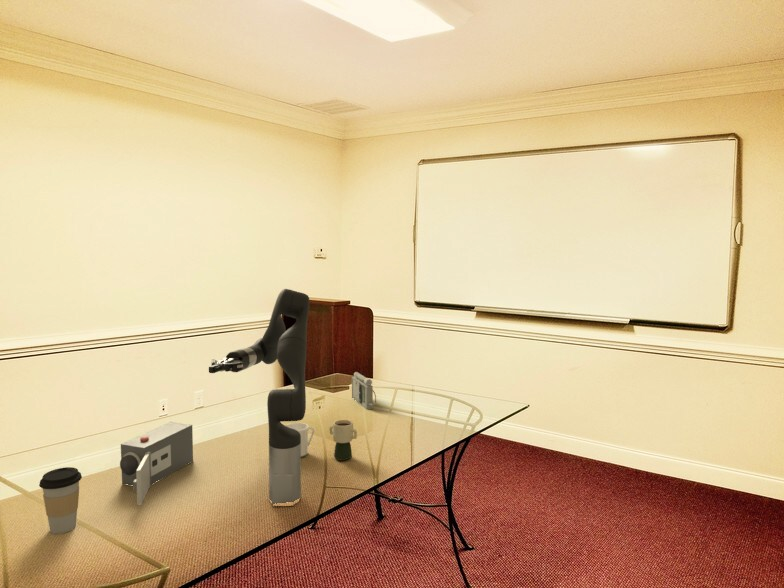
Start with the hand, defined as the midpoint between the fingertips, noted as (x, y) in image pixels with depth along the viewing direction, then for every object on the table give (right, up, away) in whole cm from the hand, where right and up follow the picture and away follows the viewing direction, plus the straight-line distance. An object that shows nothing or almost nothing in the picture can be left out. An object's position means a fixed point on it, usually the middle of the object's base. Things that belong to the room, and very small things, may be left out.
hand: (210, 370), depth 171 cm
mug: (+26, -33, +17) cm, 45 cm away
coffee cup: (-27, -37, -34) cm, 57 cm away
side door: (-14, -34, -17) cm, 41 cm away
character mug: (+42, -34, +14) cm, 56 cm away
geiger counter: (+47, -28, +77) cm, 95 cm away
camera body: (-17, -34, 0) cm, 38 cm away
